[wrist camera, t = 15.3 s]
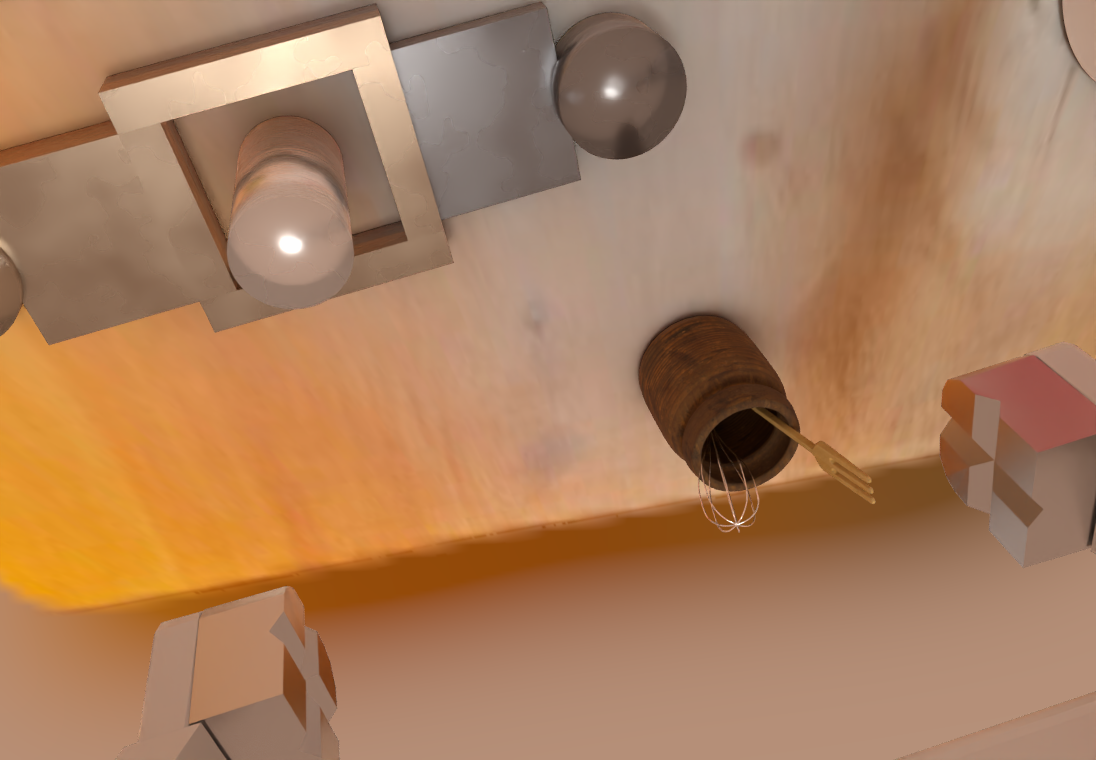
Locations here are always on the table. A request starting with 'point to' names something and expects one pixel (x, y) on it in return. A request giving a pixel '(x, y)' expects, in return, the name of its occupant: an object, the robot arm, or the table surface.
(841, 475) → the utensil holder
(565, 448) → the table surface
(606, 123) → the lower chain link
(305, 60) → the upper chain link
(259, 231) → the steel pin
